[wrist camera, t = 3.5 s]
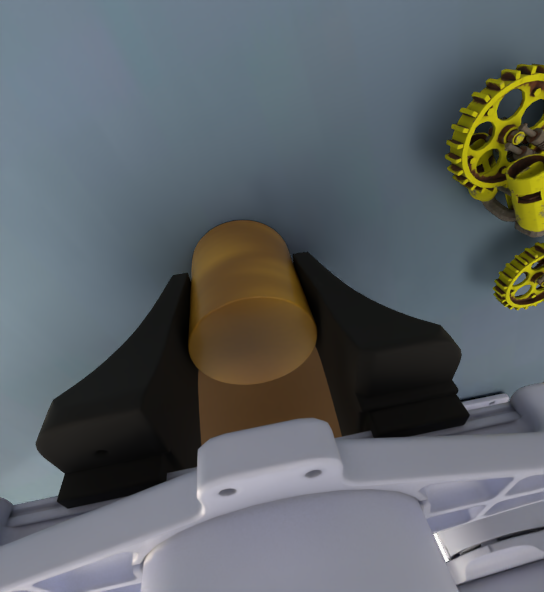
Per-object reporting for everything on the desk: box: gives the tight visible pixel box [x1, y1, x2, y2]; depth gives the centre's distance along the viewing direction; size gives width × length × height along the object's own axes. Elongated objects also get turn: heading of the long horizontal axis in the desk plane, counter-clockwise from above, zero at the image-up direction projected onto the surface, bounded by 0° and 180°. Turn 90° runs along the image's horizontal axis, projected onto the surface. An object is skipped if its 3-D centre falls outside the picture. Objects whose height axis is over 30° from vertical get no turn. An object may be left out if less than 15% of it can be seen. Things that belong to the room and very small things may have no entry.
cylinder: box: [188, 220, 317, 385], centre depth 13 cm, size 4×4×5 cm
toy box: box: [198, 347, 342, 445], centre depth 19 cm, size 13×11×7 cm
